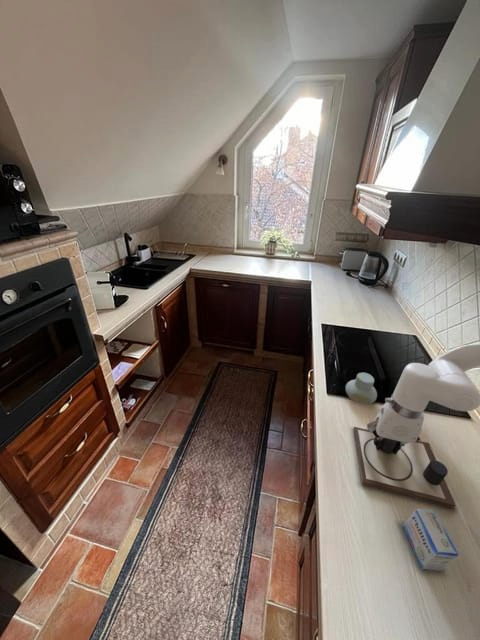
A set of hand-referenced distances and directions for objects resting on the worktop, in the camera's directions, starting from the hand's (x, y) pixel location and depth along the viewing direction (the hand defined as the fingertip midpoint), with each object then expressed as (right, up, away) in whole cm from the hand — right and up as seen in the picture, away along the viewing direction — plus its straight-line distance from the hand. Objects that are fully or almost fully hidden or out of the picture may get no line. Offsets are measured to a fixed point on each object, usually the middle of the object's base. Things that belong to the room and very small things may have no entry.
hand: (385, 447), depth 77 cm
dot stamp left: (0, 0, 0) cm, 0 cm away
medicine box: (-3, -13, -19) cm, 23 cm away
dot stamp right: (+9, -5, -7) cm, 12 cm away
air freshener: (+2, +9, +21) cm, 22 cm away
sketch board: (+2, -4, -2) cm, 5 cm away
